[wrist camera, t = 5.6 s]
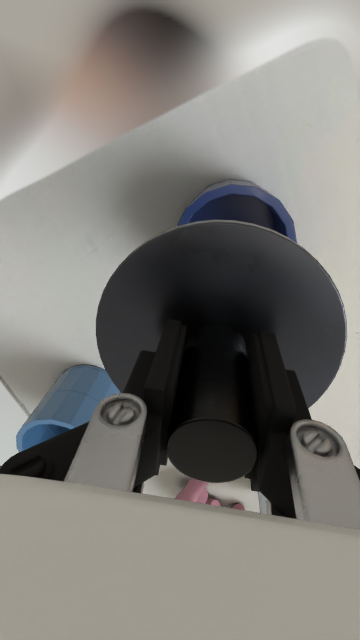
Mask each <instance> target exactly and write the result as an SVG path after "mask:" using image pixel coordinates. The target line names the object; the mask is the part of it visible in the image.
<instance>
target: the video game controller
mask: <svg viewBox="0 0 360 640" xmlns="http://www.w3.org/2000/svg"><path fill="white" fill-rule="evenodd" d="M207 484H208V482H204V481H199V480H196V479H193V478H191V479H190V480H189V481H188V483H187V484H186V486H185V487H184V489H183V490H182V491H181V492H180V493H178V495H177V496H176V499H178V500H184V501H190V502H196V503H202V504H208V505H215V506H221V504H220V502H219V501H218V500H215V499H208V500H207V498H208V493H207V490H206V488H205V487H206V485H207ZM231 508H233V509H239V510H245V508H244V506H243V505H242V504H236V505H234V506H232V507H231Z"/></svg>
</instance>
